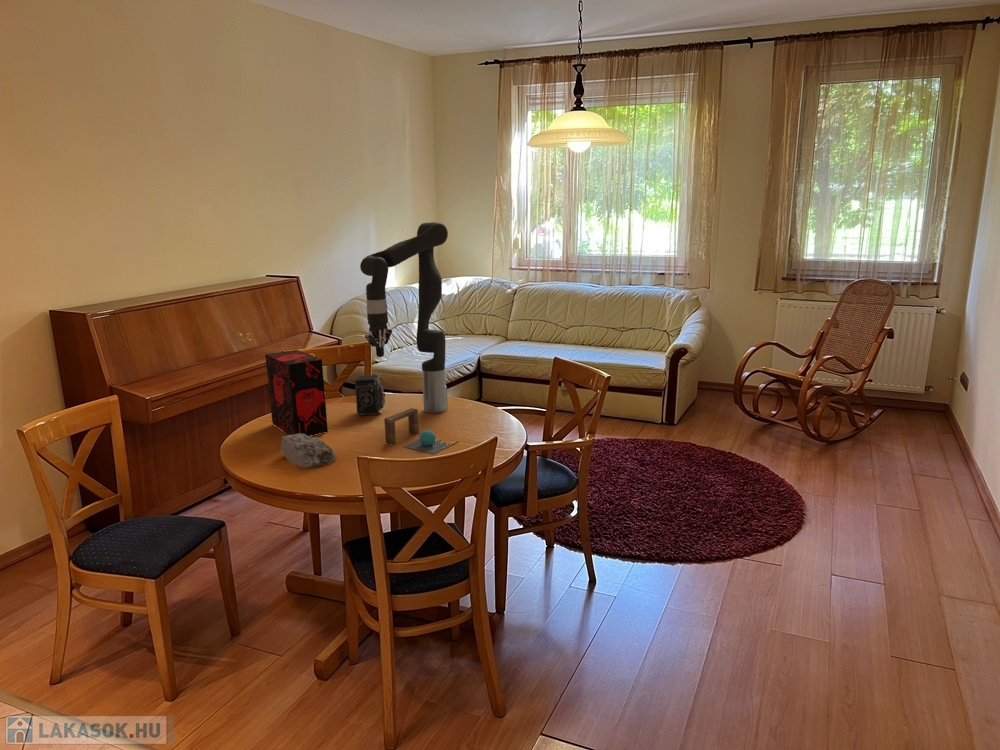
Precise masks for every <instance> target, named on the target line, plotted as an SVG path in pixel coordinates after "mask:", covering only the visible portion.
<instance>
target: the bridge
mask: <svg viewBox="0 0 1000 750" xmlns="http://www.w3.org/2000/svg"><path fill="white" fill-rule="evenodd" d="M405 418H408V422H407V423H408V434H409V433H410V435H413V434H414V436H417V435H419V434H418V433H420V430H419V429H420V428H419V409H417V408H413V407H410V408H408V409H405V410H403V411H401V412H398V413H395V414H393V415H390V416H387V417H384V435H385V436H384V437H385V438H384V439H385V444H386V443H387V444H386V445H389V444H392V445H391V446H394V445H396V444H397V438H396V437H397V436H396V422H397V421H400V420H403V419H405ZM416 434H417V435H416ZM395 443H396V444H395ZM393 444H394V445H393Z"/></svg>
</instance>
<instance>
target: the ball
mask: <svg viewBox="0 0 1000 750" xmlns="http://www.w3.org/2000/svg"><path fill="white" fill-rule="evenodd" d="M436 437H437V436H436V435H435V433H434V432H433V431H432V430H429V429H426V430H423V431H422V432H421V433H420V434H419V438H418V439H420V442H421V443H422V444H423V445H424V446H431V445H432V444H433V443H434V442H435V439H436Z"/></svg>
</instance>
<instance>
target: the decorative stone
mask: <svg viewBox="0 0 1000 750" xmlns="http://www.w3.org/2000/svg"><path fill="white" fill-rule="evenodd" d="M280 446H281V447H280V448H281V452H282V454H283V455H284V456H285V459H286V460H287V461H288V462H289V463H290V462H291V463H290V464H292V463H293V464H292V465H294V466H298V467H299V468H302V469H307V468H314V467H320V466H325V465H330V464H331V463H333V462H334V461H335V460H336V459H337V455H336V452H335V451H334V450H333V449H332V448H331V447H330V446H329V445H328V444H327V443H326V442H325V441H324V440H322V439H321V438H319V437H314V436H310V437H309V436H307V435H306V434H301V433H298V434H294V435H288V434H287V435H284V436H282V437H281V442H280Z"/></svg>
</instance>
